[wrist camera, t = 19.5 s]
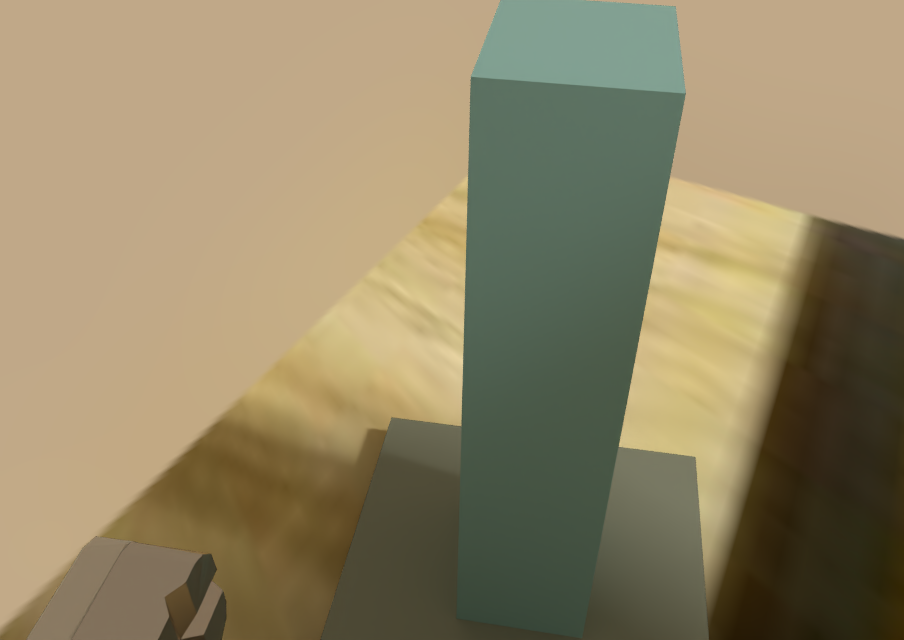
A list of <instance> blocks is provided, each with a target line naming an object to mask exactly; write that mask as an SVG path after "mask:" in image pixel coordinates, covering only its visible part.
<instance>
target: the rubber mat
mask: <svg viewBox="0 0 904 640" xmlns="http://www.w3.org/2000/svg"><path fill="white" fill-rule="evenodd" d="M461 428H462V427H461V426H453V425H446V424H438V423H430V422H423V421H415V420H407V419H400V418H391V421H390V424H389V427H388V430H387V433H386V436H385V440H384V443H383V446H382V449H381V452H380V455H379V458H378V461H377V465H376V468H375V471H374V474H373V477H372V480H371V483H370V486H369V490H368V493H367V496H366V499H365V502H364V505H363V508H362V511H361V515H360V518H359V521H358V524H357V527H356V530H355V533H354V536H353V540H352V543H351V546H350V549H349V552H348V555H347V558H346V561H345V564H344V568H343V571H342V574H341V577H340V580H339V583H338V586H337V589H336V593H335V596H334V599H333V602H332V605H331V608H330V611H329V614H328V618H327V621H326V624H325V627H324V630H323V633H322V636H321V639H320V640H709V634H708V620H707V607H706V593H705V580H704V566H703V552H702V539H701V525H700V512H699V498H698V485H697V471H696V458H695V457H692V456H684V455H677V454H669V453H661V452H654V451H646V450H638V449H630V448H623V447H618V452H617V457H616V462H615V468H614V473H613V478H612V484H611V489H610V494H609V499H608V505H607V510H606V515H605V520H604V526H603V531H602V536H601V541H600V547H599V552H598V557H597V562H596V568H595V573H594V578H593V583H592V589H591V594H590V599H589V604H588V610H587V615H586V620H585V625H584V631H583V636H582V638H577V637H570V636H564V635H558V634H551V633H545V632H538V631H532V630H526V629H519V628H513V627H507V626H500V625H494V624H488V623H481V622H475V621H469V620H462V619H456V615H457V577H458V540H459V502H460V465H461Z"/></svg>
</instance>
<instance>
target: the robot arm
mask: <svg viewBox="0 0 904 640" xmlns="http://www.w3.org/2000/svg"><path fill="white" fill-rule="evenodd" d="M216 570H217V569H216V566H215V563H214V560H213V558H212V555H211V554H209V553H203V552H196V551H189V550H182V549H176V548H169V547H162V546H155V545H149V544H142V543H137V542H134V541H126V540H119V539H112V538H104V537H97V536H96V537H94V538H93V539H92V540H91V541H90V542H89V543H88V544H87V545H86V546H84V547H83V548H82V550H81V552H80V553H79V555H78V556H77V558H76V560H75V561H74V563H73V565H72V566H71V568H70V569H69V571H68V573H67V574H66V576H65V577H64V579H63V581H62V582H61V584H60V586H59V587H58V589H57V590H56V592H55V594H54V595H53V597H52V598H51V600H50V602H49V603H48V605H47V607H46V608H45V610H44V611H43V613H42V615H41V616H40V618H39V620H38V621H37V623H36V624H35V626H34V628H33V629H32V631H31V632H30V634H29V636H28V637H27V639H26V640H222V636H223V631H224V626H225V621H226V599H225V596H224V592H223V590H222V589H221V588H220V587H219V586H218V585H216V584H215V583H214V582H213V581H212V579H213V577H214V574H215V572H216Z"/></svg>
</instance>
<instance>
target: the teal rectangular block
mask: <svg viewBox="0 0 904 640" xmlns="http://www.w3.org/2000/svg"><path fill="white" fill-rule="evenodd" d="M685 94H686V92H685V84H684V75H683V67H682V57H681V50H680V40H679V31H678V23H677V14H676V7H675V6H662V5H646V4H631V3H616V2H600V1H586V0H501V1H500V3H499V6H498V8H497V11H496V13H495V16H494V19H493V21H492V24H491V27H490V29H489V31H488V34H487V37H486V39H485V42H484V44H483V47H482V49H481V52H480V55H479V57H478V60H477V62H476V65H475V67H474V71H473V73H472V75H471V92H470V128H469V168H468V203H467V240H466V278H465V315H464V353H463V390H462V428H461V465H460V502H459V540H458V577H457V615H456V619H462V620H469V621H475V622H481V623H488V624H494V625H500V626H507V627H513V628H519V629H526V630H532V631H538V632H545V633H551V634H558V635H564V636H570V637H577V638H582V636H583V631H584V625H585V620H586V615H587V610H588V604H589V599H590V594H591V589H592V583H593V578H594V573H595V568H596V562H597V557H598V552H599V547H600V541H601V536H602V531H603V526H604V520H605V515H606V510H607V505H608V499H609V494H610V489H611V484H612V478H613V473H614V468H615V462H616V457H617V452H618V447H619V441H620V436H621V431H622V426H623V420H624V415H625V410H626V405H627V399H628V394H629V389H630V384H631V378H632V373H633V368H634V363H635V357H636V352H637V347H638V342H639V336H640V331H641V326H642V321H643V315H644V310H645V305H646V300H647V294H648V289H649V284H650V279H651V273H652V268H653V263H654V258H655V252H656V247H657V242H658V236H659V231H660V226H661V221H662V215H663V210H664V205H665V200H666V194H667V189H668V184H669V179H670V173H671V168H672V163H673V158H674V152H675V147H676V141H677V136H678V131H679V126H680V121H681V116H682V110H683V105H684V100H685Z"/></svg>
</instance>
